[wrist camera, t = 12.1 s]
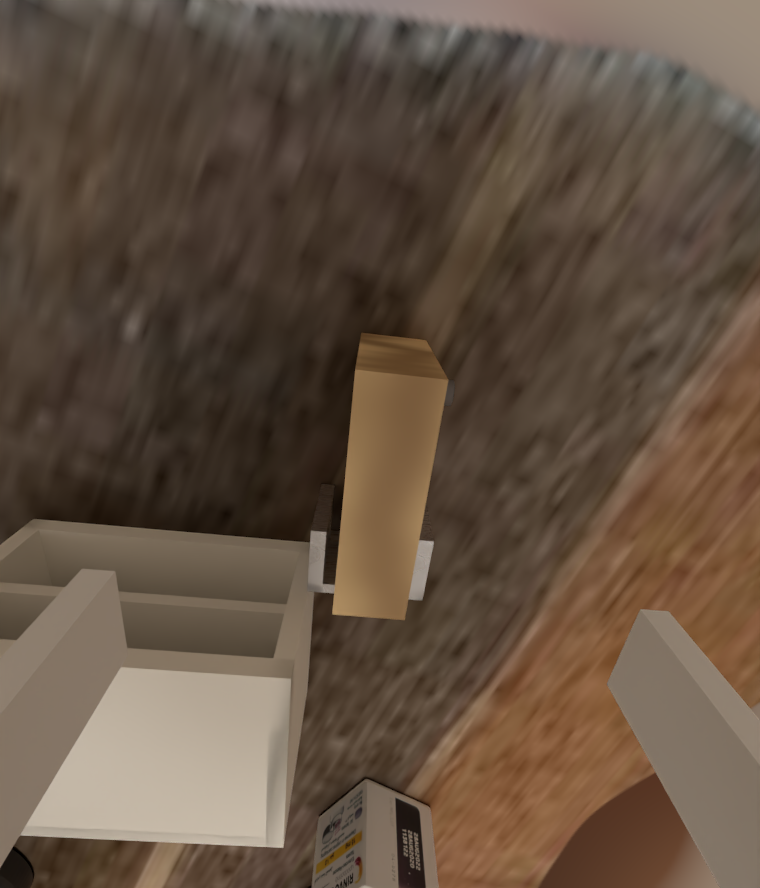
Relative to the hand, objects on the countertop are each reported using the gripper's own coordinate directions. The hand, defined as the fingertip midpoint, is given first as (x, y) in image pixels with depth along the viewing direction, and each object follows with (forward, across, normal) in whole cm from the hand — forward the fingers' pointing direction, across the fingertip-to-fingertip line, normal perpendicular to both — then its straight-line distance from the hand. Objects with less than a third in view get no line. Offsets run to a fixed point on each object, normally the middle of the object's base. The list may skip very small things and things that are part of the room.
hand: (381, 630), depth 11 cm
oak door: (+16, 0, -1) cm, 16 cm away
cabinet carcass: (+16, -12, -16) cm, 25 cm away
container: (+16, +4, -39) cm, 42 cm away
